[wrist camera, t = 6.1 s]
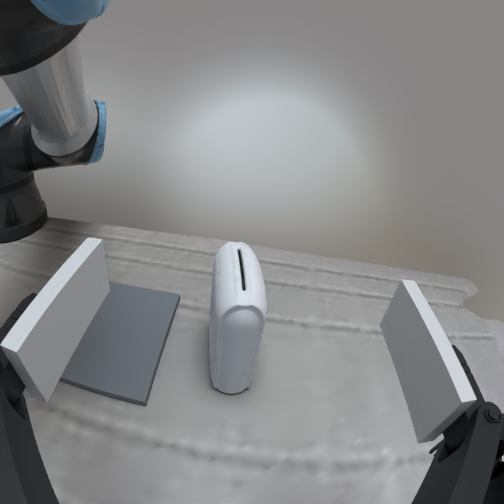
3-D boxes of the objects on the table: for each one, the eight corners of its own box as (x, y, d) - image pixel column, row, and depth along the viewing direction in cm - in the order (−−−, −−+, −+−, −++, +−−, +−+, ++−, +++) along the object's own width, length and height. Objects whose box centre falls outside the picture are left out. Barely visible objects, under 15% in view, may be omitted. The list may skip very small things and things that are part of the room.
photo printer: (207, 321, 36) (214, 228, 29) (243, 322, 36) (259, 231, 30) (208, 395, 27) (216, 300, 20) (253, 395, 28) (277, 302, 21)
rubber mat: (73, 278, 38) (72, 274, 37) (179, 299, 38) (179, 294, 38) (16, 362, 24) (13, 357, 23) (145, 405, 24) (144, 401, 24)
